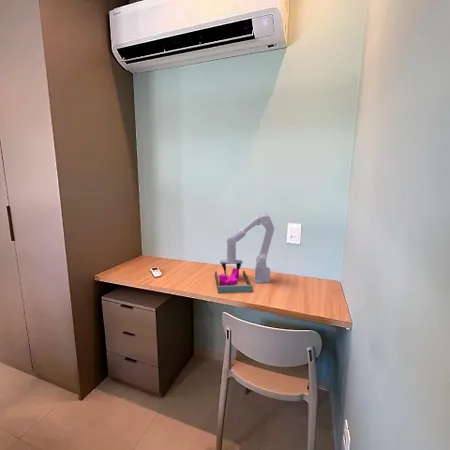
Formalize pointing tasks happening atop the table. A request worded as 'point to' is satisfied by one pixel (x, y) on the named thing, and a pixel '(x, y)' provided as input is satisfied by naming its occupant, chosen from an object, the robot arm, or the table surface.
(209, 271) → the table surface
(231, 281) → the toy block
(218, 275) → the trap squares
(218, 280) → the lane rails
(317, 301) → the table surface
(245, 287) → the end stop
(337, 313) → the table surface
